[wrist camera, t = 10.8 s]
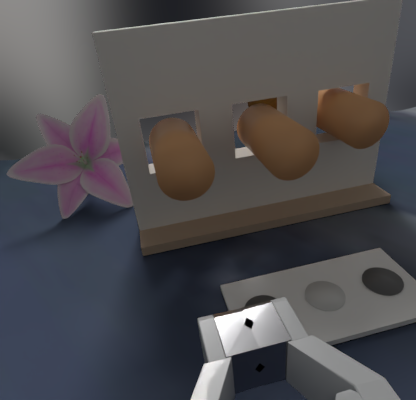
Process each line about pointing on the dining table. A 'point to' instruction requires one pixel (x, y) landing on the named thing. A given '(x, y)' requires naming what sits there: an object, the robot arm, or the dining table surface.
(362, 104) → the button right
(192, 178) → the button left
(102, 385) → the dining table surface
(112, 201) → the lily
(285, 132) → the button middle
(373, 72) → the panel
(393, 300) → the card
